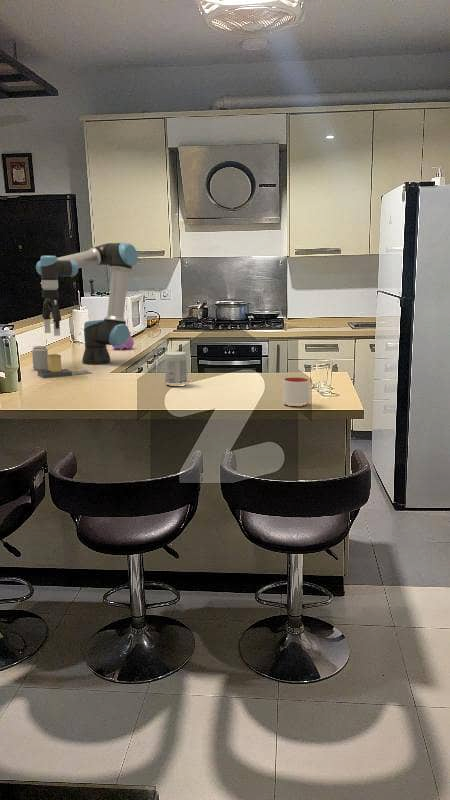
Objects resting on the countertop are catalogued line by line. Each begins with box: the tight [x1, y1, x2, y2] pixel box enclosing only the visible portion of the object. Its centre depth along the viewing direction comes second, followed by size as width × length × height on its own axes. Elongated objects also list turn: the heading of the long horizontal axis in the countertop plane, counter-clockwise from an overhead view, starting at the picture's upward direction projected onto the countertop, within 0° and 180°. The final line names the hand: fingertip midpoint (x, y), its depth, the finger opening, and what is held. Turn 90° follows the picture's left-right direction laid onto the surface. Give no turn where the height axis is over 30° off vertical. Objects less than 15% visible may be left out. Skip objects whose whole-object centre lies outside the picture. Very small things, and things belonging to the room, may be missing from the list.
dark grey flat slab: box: [37, 368, 73, 379], centre depth 299 cm, size 14×9×2 cm, turn 124°
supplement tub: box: [164, 351, 188, 383], centre depth 275 cm, size 10×10×15 cm
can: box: [31, 345, 49, 372], centre depth 314 cm, size 8×8×12 cm
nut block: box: [47, 353, 62, 373], centre depth 298 cm, size 5×5×10 cm
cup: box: [282, 376, 310, 403], centre depth 239 cm, size 10×10×10 cm
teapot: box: [112, 331, 135, 351], centre depth 390 cm, size 20×14×12 cm
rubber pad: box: [72, 370, 93, 376], centre depth 307 cm, size 8×8×1 cm
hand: (52, 334), depth 295 cm, fingers open, 13 cm apart
